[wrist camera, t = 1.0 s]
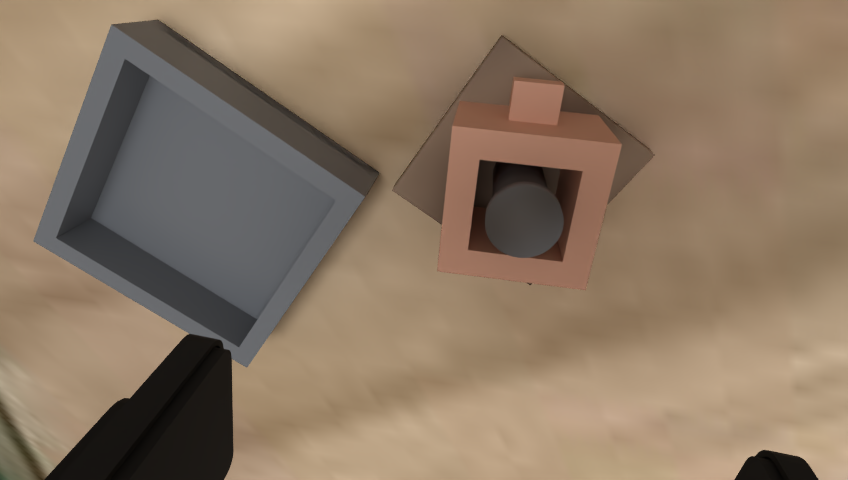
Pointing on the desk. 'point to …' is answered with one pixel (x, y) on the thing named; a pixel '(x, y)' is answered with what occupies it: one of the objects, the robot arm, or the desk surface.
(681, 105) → the desk surface
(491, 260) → the ring
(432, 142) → the board
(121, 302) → the desk surface
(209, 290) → the tray
